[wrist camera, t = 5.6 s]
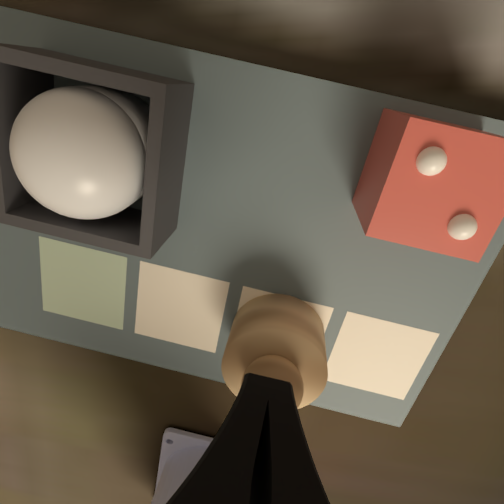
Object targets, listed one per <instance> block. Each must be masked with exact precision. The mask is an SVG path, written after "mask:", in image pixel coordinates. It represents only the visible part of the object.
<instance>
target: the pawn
mask: <svg viewBox="0 0 504 504" xmlns="http://www.w3.org/2000/svg"><path fill="white" fill-rule="evenodd" d="M221 370H222V375H223V378H224V381H225V383H226V385H227V386H228V388H229V389H230V390H231V392H232V393H233V394H234V395H235V396H237V395H238V393H239V391H240V388H241V385H242V383H243V379H244V375H245V374H247V373H253V374H257V375H262V376H266V377H270V378H274V379H279V380H283V381H287V382H290V383H291V384H292V386H293V392H294V397H295V401H296V406H297V409H299V408H302V407H304V406H307V405H308V404H310V403H312V402H313V401H314V400H316V399H317V398H318V397H319V396H320V394H321V393H322V392H323V390H324V388H325V386H326V383H327V379H328V368H327V357H326V345H325V333H324V327H323V323H322V321H321V319H320V317H319V315H318V314H317V313H316V311H315V310H314V309H313V308H312V307H311V306H310V305H308V304H307V303H305V302H304V301H302V300H300V299H298V298H296V297H293V296H289V295H284V294H267V295H262V296H258V297H256V298H254V299H252V300H250V301H248V302H247V303H245V304H244V305H243V306H242V307H241V308H240V309H239V310H238V312H237V313H236V315H235V317H234V320H233V324H232V327H231V331H230V334H229V338H228V341H227V344H226V348H225V351H224V355H223V358H222V364H221Z"/></svg>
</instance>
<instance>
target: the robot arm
mask: <svg viewBox="0 0 504 504" xmlns="http://www.w3.org/2000/svg"><path fill="white" fill-rule="evenodd" d="M151 504H330V502H329V500H328V498H327V495H326V493H325V490H324V488H323V485H322V483H321V480H320V478H319V475H318V472H317V470H316V467H315V464H314V462H313V459H312V456H311V453H310V450H309V447H308V444H307V441H306V438H305V435H304V431H303V428H302V425H301V421H300V417H299V414H298V410H297V406H296V401H295V397H294V392H293V386H292V384H291V383H290V382H287V381H283V380H279V379H274V378H270V377H266V376H262V375H257V374H253V373H247V374H245V375H244V379H243V383H242V385H241V388H240V391H239V393H238V395H237V398H236V400H235V402H234V404H233V406H232V408H231V410H230V411H229V413H228V415H227V417H226V418H225V420H224V422H223V424H222V426H221V427H220V429H219V431H218V432H217V434H216V436H215V437H214V438H211V437H207V436H203V435H199V434H195V433H191V432H187V431H183V430H179V429H175V428H167V429H165V431H164V434H163V440H162V447H161V454H160V460H159V467H158V474H157V481H156V488H155V494H154V496H153V499H152V502H151Z"/></svg>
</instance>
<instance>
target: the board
mask: <svg viewBox="0 0 504 504" xmlns="http://www.w3.org/2000/svg"><path fill="white" fill-rule="evenodd" d="M90 85H100V86H105V87H109V88H113V89H117V90H122V91H126V92H130V93H133V94H134V95H136V96H138V97H139V98H140V99H141V100H143V101H144V102H145V103H146V104H147V105H148V106H149V107H150V110H149V123H148V136H147V149H146V163H145V176H144V189H143V196H142V197H141V198H140V199H138V200H137V201H135V202H134V203H133V204H131V205H130V206H129V207H127V208H126V209H124V210H122V211H120V212H119V213H117V214H114V215H112V216H109V217H105V218H100V219H88V220H86V219H76V218H71V217H67V216H63V215H60V214H58V213H56V212H54V211H52V210H50V209H48V208H46V207H44V206H43V205H42V204H40V203H39V202H38V201H36V200H35V199H34V198H33V197H32V196H31V195H30V194H29V193H28V192H27V191H26V189H25V188H24V187H23V185H22V184H21V182H20V181H19V179H18V177H17V175H16V173H15V171H14V168H13V166H12V162H11V158H10V152H9V141H10V134H11V130H12V126H13V123H14V121H15V119H16V117H17V116H18V114H19V113H20V111H21V109H22V108H23V107H24V106H25V105H26V104H27V103H28V102H29V101H31V100H32V99H33V98H34V97H36V96H37V95H39V94H41V93H43V92H45V91H48V90H51V89H54V88H59V87H65V86H90ZM384 108H387V109H391V110H395V111H400V112H404V113H408V114H413V115H417V116H421V117H426V118H430V119H434V120H439V121H443V122H447V123H452V124H456V125H460V126H465V127H469V128H474V129H478V130H482V131H486V132H489V133H493V134H497V135H500V136H504V121H502V120H497V119H493V118H489V117H484V116H480V115H476V114H471V113H467V112H462V111H458V110H454V109H449V108H445V107H441V106H436V105H432V104H428V103H423V102H419V101H414V100H410V99H406V98H401V97H397V96H393V95H388V94H384V93H379V92H375V91H371V90H366V89H362V88H358V87H353V86H349V85H345V84H340V83H336V82H331V81H327V80H323V79H318V78H314V77H310V76H305V75H301V74H297V73H292V72H288V71H283V70H279V69H275V68H270V67H266V66H262V65H257V64H253V63H248V62H244V61H240V60H235V59H231V58H227V57H222V56H218V55H214V54H209V53H205V52H200V51H196V50H192V49H187V48H183V47H179V46H174V45H170V44H166V43H161V42H157V41H152V40H148V39H144V38H139V37H135V36H131V35H126V34H122V33H118V32H113V31H109V30H104V29H100V28H96V27H91V26H87V25H83V24H78V23H74V22H69V21H65V20H61V19H56V18H52V17H48V16H43V15H39V14H35V13H30V12H26V11H21V10H17V9H13V8H8V7H4V6H0V327H3V328H7V329H11V330H15V331H19V332H23V333H26V334H30V335H34V336H38V337H42V338H46V339H50V340H54V341H58V342H62V343H66V344H70V345H74V346H78V347H82V348H86V349H90V350H94V351H98V352H102V353H106V354H110V355H114V356H118V357H122V358H126V359H130V360H134V361H138V362H142V363H146V364H150V365H154V366H158V367H162V368H166V369H170V370H174V371H178V372H182V373H186V374H190V375H194V376H198V377H202V378H206V379H210V380H214V381H218V382H222V383H225V381H224V378H223V375H222V370H221V364H222V358H223V355H224V351H225V348H226V344H227V341H228V338H229V334H230V331H231V327H232V324H233V320H234V317H235V315H236V313H237V312H238V310H239V309H240V308H241V307H242V306H243V305H244V304H245V303H247V302H248V301H250V300H252V299H254V298H256V297H258V296H262V295H267V294H284V295H289V296H293V297H296V298H298V299H300V300H302V301H304V302H305V303H307V304H308V305H310V306H311V307H312V308H313V309H314V310H315V311H316V313H317V314H318V315H319V317H320V319H321V321H322V323H323V327H324V333H325V345H326V357H327V368H328V379H327V383H326V386H325V388H324V390H323V392H322V393H321V394H320V396H319V397H318V398H317V399H316V400H314V401H313V402H312V403H310V404H309V405H313V406H317V407H321V408H325V409H329V410H333V411H337V412H341V413H345V414H349V415H353V416H357V417H361V418H365V419H369V420H373V421H377V422H381V423H385V424H389V425H393V426H397V427H400V426H401V424H402V423H403V421H404V419H405V417H406V416H407V414H408V412H409V410H410V409H411V407H412V405H413V403H414V401H415V400H416V398H417V396H418V394H419V393H420V391H421V389H422V387H423V386H424V384H425V382H426V380H427V378H428V377H429V375H430V373H431V371H432V370H433V368H434V366H435V364H436V363H437V361H438V359H439V357H440V355H441V354H442V352H443V350H444V348H445V347H446V345H447V343H448V341H449V339H450V338H451V336H452V334H453V332H454V331H455V329H456V327H457V325H458V324H459V322H460V320H461V318H462V316H463V315H464V313H465V311H466V309H467V308H468V306H469V304H470V302H471V301H472V299H473V297H474V295H475V293H476V292H477V290H478V288H479V286H480V285H481V283H482V281H483V279H484V278H485V276H486V274H487V272H488V270H489V269H490V267H491V265H492V263H493V262H494V260H495V258H496V256H497V255H498V253H499V251H500V249H501V247H502V246H503V244H504V217H503V219H502V221H501V223H500V225H499V226H498V228H497V230H496V232H495V234H494V236H493V237H492V239H491V241H490V243H489V245H488V247H487V248H486V250H485V252H484V254H483V256H482V258H481V259H480V261H479V263H477V262H473V261H469V260H465V259H461V258H457V257H452V256H448V255H444V254H440V253H436V252H431V251H427V250H423V249H419V248H415V247H410V246H406V245H402V244H398V243H394V242H390V241H385V240H381V239H377V238H373V237H369V236H365V233H364V231H363V228H362V226H361V223H360V221H359V218H358V216H357V213H356V211H355V209H354V206H353V204H352V199H353V197H354V194H355V191H356V188H357V185H358V182H359V179H360V176H361V173H362V170H363V167H364V164H365V161H366V159H367V156H368V153H369V150H370V147H371V144H372V141H373V138H374V135H375V132H376V129H377V126H378V123H379V120H380V118H381V115H382V112H383V109H384Z"/></svg>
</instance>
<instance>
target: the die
mask: <svg viewBox="0 0 504 504" xmlns="http://www.w3.org/2000/svg"><path fill="white" fill-rule="evenodd" d="M352 204H353V206H354V209H355V211H356V213H357V216H358V218H359V221H360V223H361V226H362V228H363V231H364V233H365V236H369V237H373V238H377V239H381V240H385V241H390V242H394V243H398V244H402V245H406V246H410V247H415V248H419V249H423V250H427V251H431V252H436V253H440V254H444V255H448V256H452V257H457V258H461V259H465V260H469V261H473V262H477V263H479V261H480V259H481V258H482V256H483V254H484V252H485V250H486V248H487V247H488V245H489V243H490V241H491V239H492V237H493V236H494V234H495V232H496V230H497V228H498V226H499V225H500V223H501V221H502V219H503V217H504V136H500V135H497V134H493V133H489V132H486V131H482V130H478V129H474V128H469V127H465V126H460V125H456V124H452V123H447V122H443V121H439V120H434V119H430V118H426V117H421V116H417V115H413V114H408V113H404V112H400V111H395V110H391V109H387V108H384V109H383V112H382V115H381V118H380V120H379V123H378V126H377V129H376V132H375V135H374V138H373V141H372V144H371V147H370V150H369V153H368V156H367V159H366V161H365V164H364V167H363V170H362V173H361V176H360V179H359V182H358V185H357V188H356V191H355V194H354V197H353V199H352Z"/></svg>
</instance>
